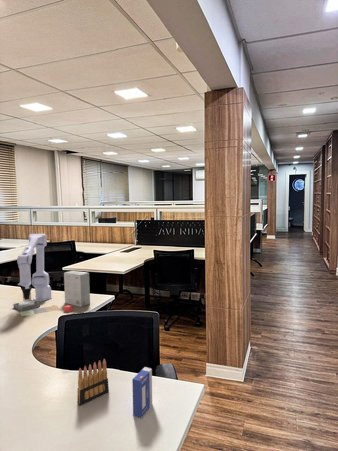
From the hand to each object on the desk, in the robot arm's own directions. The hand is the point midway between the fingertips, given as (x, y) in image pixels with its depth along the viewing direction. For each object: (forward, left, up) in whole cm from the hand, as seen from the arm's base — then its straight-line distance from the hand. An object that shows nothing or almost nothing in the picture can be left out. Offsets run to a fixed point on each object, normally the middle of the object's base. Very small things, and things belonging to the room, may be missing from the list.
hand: (26, 298), depth 187 cm
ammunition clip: (+25, +96, -9) cm, 100 cm away
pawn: (0, 0, -2) cm, 2 cm away
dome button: (-5, -10, -8) cm, 14 cm away
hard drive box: (-29, +8, -9) cm, 31 cm away
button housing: (-5, -10, -9) cm, 14 cm away
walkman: (+19, +113, -9) cm, 115 cm away
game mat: (-7, +2, -9) cm, 11 cm away
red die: (-17, +16, -9) cm, 25 cm away
